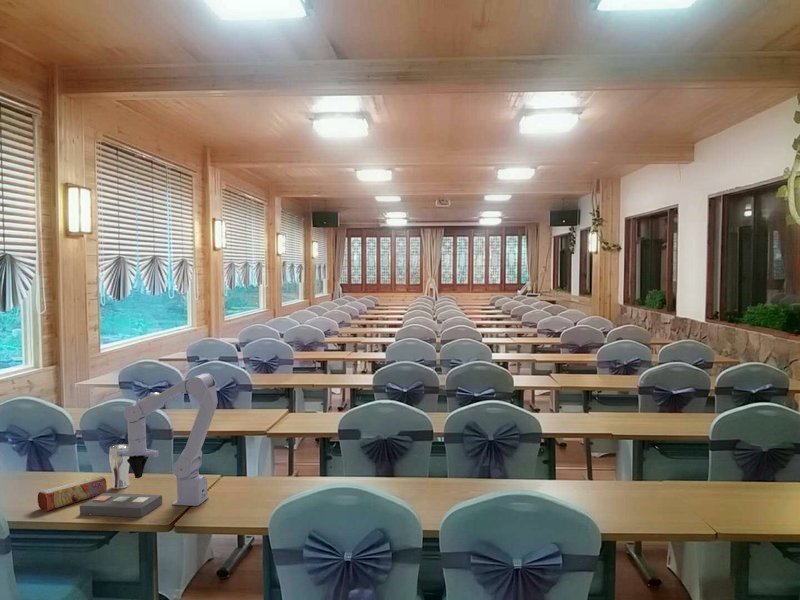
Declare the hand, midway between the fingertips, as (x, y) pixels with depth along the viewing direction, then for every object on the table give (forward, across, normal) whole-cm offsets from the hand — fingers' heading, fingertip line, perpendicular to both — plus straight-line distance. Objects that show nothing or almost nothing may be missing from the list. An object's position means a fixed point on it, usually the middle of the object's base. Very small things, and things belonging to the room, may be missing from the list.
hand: (138, 477), depth 206 cm
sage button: (+8, -2, -8) cm, 11 cm away
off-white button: (+8, +5, -8) cm, 12 cm away
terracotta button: (+8, -9, -8) cm, 14 cm away
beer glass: (+8, -16, +14) cm, 23 cm away
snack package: (+9, -24, -2) cm, 25 cm away
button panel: (+8, -2, -8) cm, 11 cm away
